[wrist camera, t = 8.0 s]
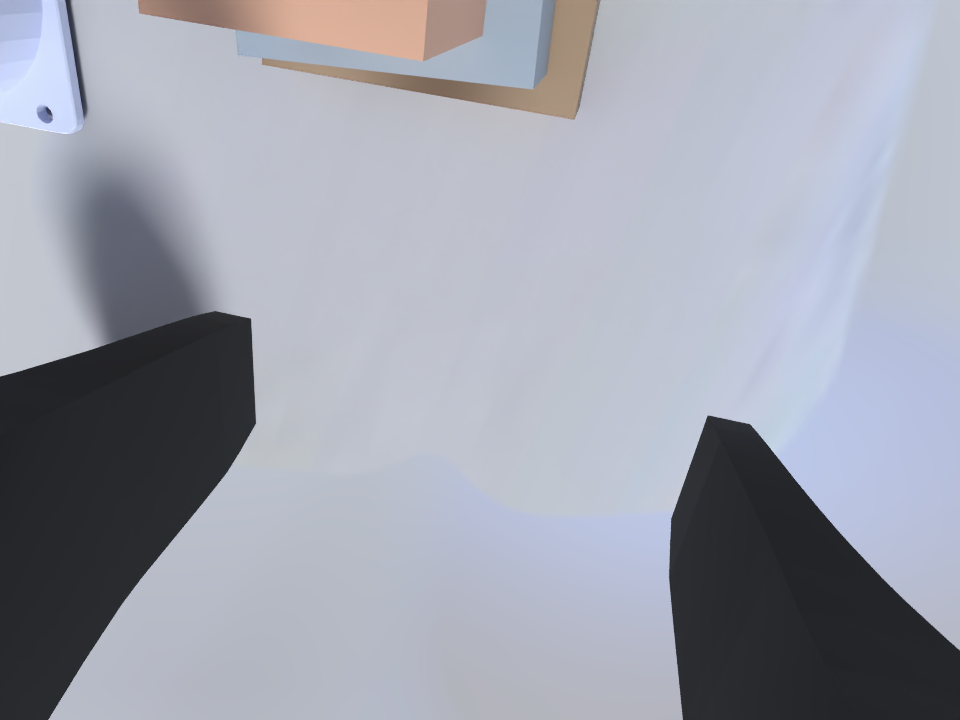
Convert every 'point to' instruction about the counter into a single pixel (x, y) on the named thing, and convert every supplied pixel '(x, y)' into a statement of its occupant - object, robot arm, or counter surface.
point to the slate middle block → (487, 60)
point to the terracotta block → (342, 21)
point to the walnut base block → (548, 97)
